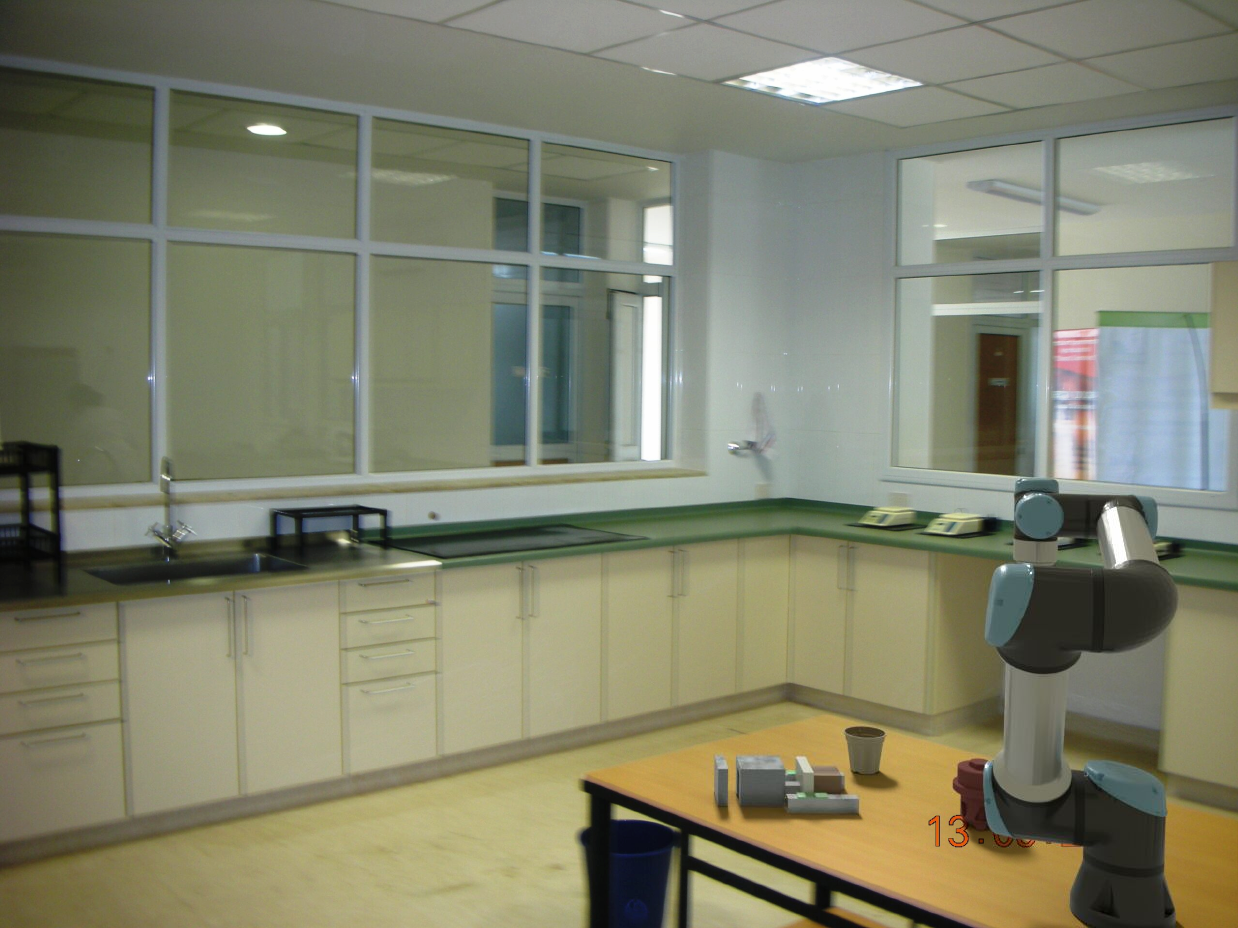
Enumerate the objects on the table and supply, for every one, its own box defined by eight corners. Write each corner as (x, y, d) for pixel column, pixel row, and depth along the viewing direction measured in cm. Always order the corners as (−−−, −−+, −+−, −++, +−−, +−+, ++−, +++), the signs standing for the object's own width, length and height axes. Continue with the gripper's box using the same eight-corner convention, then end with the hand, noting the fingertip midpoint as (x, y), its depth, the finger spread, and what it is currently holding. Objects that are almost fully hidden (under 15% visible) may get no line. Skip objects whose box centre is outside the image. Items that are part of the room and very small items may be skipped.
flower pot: (833, 766, 238) (834, 728, 237) (867, 760, 242) (868, 723, 241) (860, 779, 229) (861, 740, 229) (895, 773, 233) (895, 734, 233)
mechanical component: (1002, 816, 209) (1010, 836, 199) (949, 812, 211) (954, 832, 201) (1003, 754, 208) (1012, 771, 198) (950, 751, 210) (956, 767, 200)
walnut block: (841, 804, 215) (841, 775, 215) (811, 804, 215) (811, 775, 215) (835, 794, 221) (836, 765, 221) (806, 793, 221) (807, 765, 221)
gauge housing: (858, 813, 210) (859, 775, 209) (719, 812, 210) (719, 774, 209) (842, 785, 226) (842, 750, 225) (712, 784, 226) (712, 749, 225)
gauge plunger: (813, 806, 213) (813, 772, 212) (743, 806, 213) (743, 772, 212) (804, 789, 223) (805, 756, 222) (737, 788, 223) (738, 755, 222)
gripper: (1062, 560, 197) (1059, 685, 198) (991, 559, 197) (989, 685, 198) (1079, 565, 189) (1076, 696, 191) (1006, 565, 189) (1003, 696, 191)
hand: (1031, 690), depth 194 cm, fingers closed
